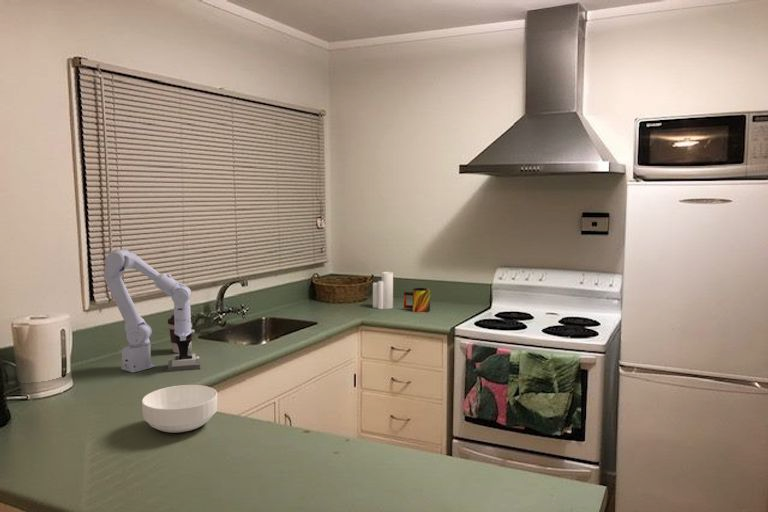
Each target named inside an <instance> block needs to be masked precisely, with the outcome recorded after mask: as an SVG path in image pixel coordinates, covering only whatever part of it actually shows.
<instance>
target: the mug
mask: <svg viewBox="0 0 768 512" xmlns="http://www.w3.org/2000/svg"><path fill="white" fill-rule="evenodd" d="M407 296H411V297H412V305H409V304H407ZM403 308H404V309H412V312H413V311H414V312H415V313H419V312H425V313H429V311H430V312H431V289H430V288H429V287H427V288H425V287H416V288H415V287H414V288H412V291H411V292H410V291H409V292H408V291H404V292H403Z"/></svg>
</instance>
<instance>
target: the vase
mask: <svg viewBox="0 0 768 512" xmlns="http://www.w3.org/2000/svg"><path fill="white" fill-rule="evenodd" d="M372 308H374V309H378V310H383V309H385V310H388V309H393V308H394V272H393V271H381V280H378V281H377V282H373V283H372Z"/></svg>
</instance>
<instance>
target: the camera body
mask: <svg viewBox="0 0 768 512" xmlns="http://www.w3.org/2000/svg"><path fill="white" fill-rule="evenodd" d="M200 359H201V358H200V356H198V355H197V356H196V353H191V359H182V360H179V354H172V356H171V360H168V363H167V372H168V373H169V372H178V371H191V370H200V369H201V361H200Z"/></svg>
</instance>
